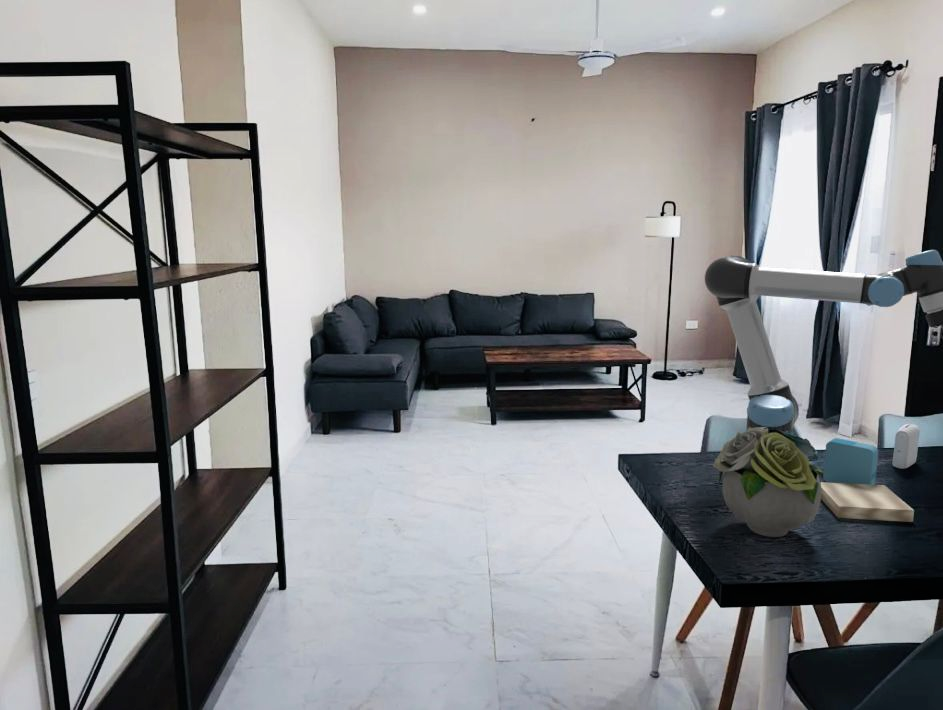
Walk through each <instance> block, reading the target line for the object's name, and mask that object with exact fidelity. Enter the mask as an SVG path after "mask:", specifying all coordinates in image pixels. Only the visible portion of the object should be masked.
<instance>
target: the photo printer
mask: <svg viewBox="0 0 943 710" xmlns="http://www.w3.org/2000/svg"><path fill="white" fill-rule="evenodd" d="M920 432H921V430H920V428H919V426H917V425H916V424H911V423H906V424H904V425H902V426H900V428H899V429H898V430H897V431H896V433H895V437H894V447H893V448H894V449H893V455H892V456H893V457H892V466H893V467H894V468H897V469H900V470H901V469H907V468H909V467H911V466H912V465H914V464H915V463H916V462H917V459H918V449H919V440H920Z"/></svg>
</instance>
